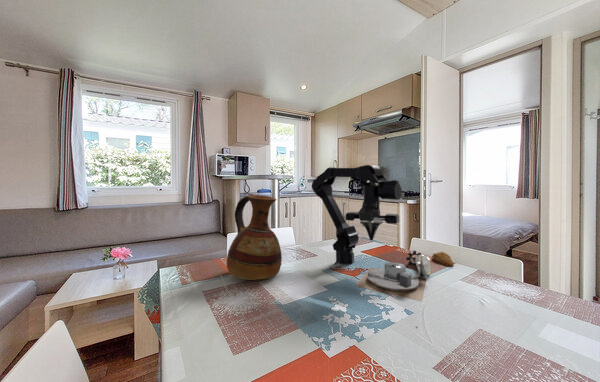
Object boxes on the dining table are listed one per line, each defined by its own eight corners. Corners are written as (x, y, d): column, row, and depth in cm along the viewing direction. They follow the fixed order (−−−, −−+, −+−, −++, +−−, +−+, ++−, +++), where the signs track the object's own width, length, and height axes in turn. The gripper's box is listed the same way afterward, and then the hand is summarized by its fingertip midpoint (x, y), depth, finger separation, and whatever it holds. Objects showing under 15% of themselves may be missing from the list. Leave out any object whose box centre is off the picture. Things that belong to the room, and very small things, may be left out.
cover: (400, 284, 73) (400, 270, 72) (379, 277, 78) (379, 265, 78) (410, 278, 77) (410, 265, 77) (390, 272, 82) (390, 260, 82)
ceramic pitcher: (267, 290, 76) (265, 196, 74) (214, 282, 82) (212, 195, 81) (290, 269, 94) (288, 193, 93) (245, 264, 101) (243, 193, 100)
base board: (354, 289, 76) (354, 285, 76) (371, 270, 92) (371, 266, 92) (421, 304, 66) (421, 300, 66) (427, 280, 82) (427, 276, 82)
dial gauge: (414, 278, 81) (414, 255, 81) (415, 275, 84) (415, 252, 83) (428, 280, 79) (428, 256, 79) (428, 277, 81) (428, 254, 81)
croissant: (425, 258, 105) (426, 247, 105) (441, 258, 105) (442, 247, 104) (442, 269, 92) (442, 256, 91) (460, 269, 91) (460, 256, 91)
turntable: (404, 296, 68) (404, 280, 68) (358, 279, 80) (358, 266, 79) (427, 281, 78) (427, 267, 78) (383, 268, 90) (383, 256, 90)
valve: (436, 279, 83) (422, 266, 95) (436, 260, 83) (423, 250, 95) (416, 278, 84) (405, 266, 96) (416, 259, 83) (405, 250, 95)
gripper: (339, 199, 87) (340, 241, 88) (393, 201, 78) (393, 248, 78) (350, 197, 97) (350, 235, 97) (399, 198, 87) (399, 241, 88)
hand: (371, 240), depth 90 cm, fingers closed
